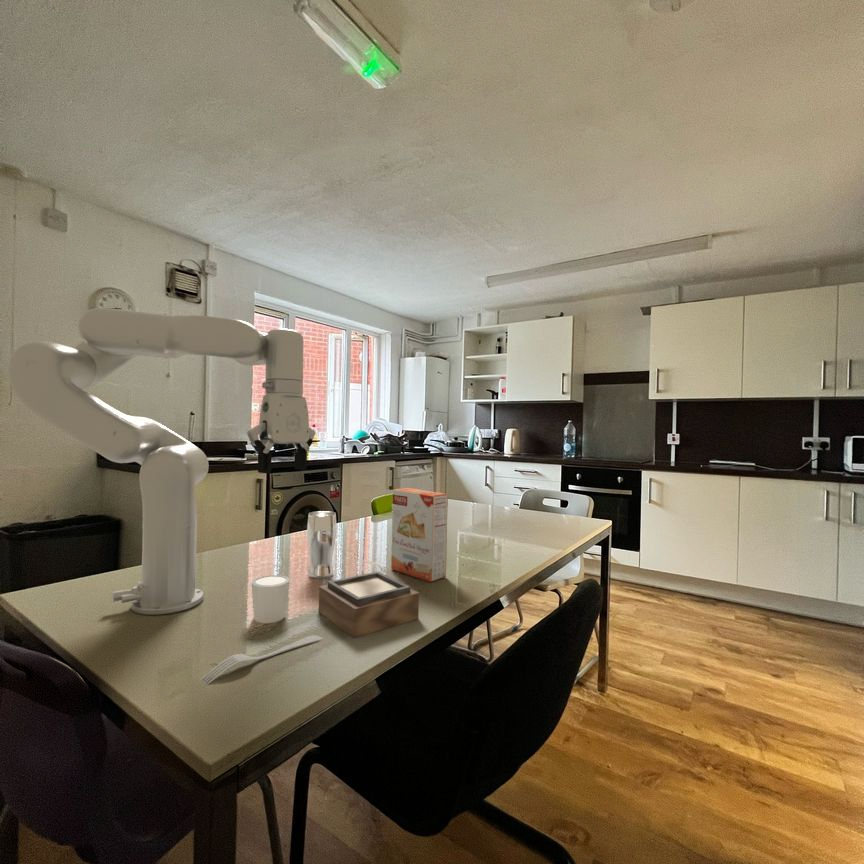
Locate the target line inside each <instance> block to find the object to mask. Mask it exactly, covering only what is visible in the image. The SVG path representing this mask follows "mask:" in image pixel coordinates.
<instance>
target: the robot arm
mask: <svg viewBox="0 0 864 864" xmlns="http://www.w3.org/2000/svg"><path fill="white" fill-rule="evenodd" d="M77 328H78V332H79V335H80V337H81V339H82V341H81V342H80V343H78V344H77V345H75V346H73V347H72V346H68V345H66V344H65V345H64V344H61V343H58V342H54V341H46V340H34V341H30V342H25V343H23V344H21V345H19V346H18V347H16V348H15V350H14V351H13V352H12V354H11V355H10V357H9V360H8V366H7V374H8V379H9V380H8V381H9V384H10V387H11V388H12V391H13V393H14V394H15V395H16V398H17V399H18V400H19V401H20V402H21V403H22V404H23V406H25V407H26V408H27V410H29V411H31V412H32V413H33V414H35V415H36V416H37V417H38V418H40V419H42V420H44V421H45V422H46V423H48V424H50V425H51V426H53V427H55V428H57V429H58V430H60V431H62V432H64V433H65V435H68V436H70V437H71V438H72V439H74V440H76V441H77V442H79V443H81V444H82V445H84V446H86V447H87V448H89V449H91V450H92V451H94V452H95V453H97V454H99V455H100V456H102V457H104V459H106V460H109V461H111V462H113V463H118V464H129V463H133V462H134V463H137V464H139V465H140V466H141V467H140V469H139V474H138V475H139V479H138V480H139V488H140V495H141V502H142V503H141V504H142V505H141V506H142V526H141V527H142V535H141V536H142V541H141V543H142V544H141V549H142V550H141V580H139V581H137V585H135V586H134V585H133V586H132V587H131V588H130V589H129V588H128V589H119V590H118V589H117V590H114V591H113V590H112V595H111V596H112V602H113V603H114V602H119V601H121V603H122V604H125V603H129V602H131V610H132V611H133V612H135V613H137V614H140V615H151V616H154V615H156V616H157V615H167V614H173V613H178V612H182V611H186V610H189V609H191V608H193V607H195V606H197V605H199V604H200V603H201V602H203V600H204V596H205V595H204V591H202V589H200V588H196V583H197V582H196V577H197V573H196V572H197V571H196V570H197V569H196V568H197V535H198V533H197V530H198V523H197V520H198V513H197V512H198V510H197V508H198V507H197V506H198V505H197V498H196V497H197V496H196V486H197V485H198V484H199V483H201V482H202V481H203V480H204V479H205V478H206V476H207V475H208V473H209V465H210V464H209V460H208V458H207V455H206V454H205V452H204V451H203V450H202V449H201V448H199V447H198V446H196V445H195V444H193V443H192V442H190V441H188V440H187V439H185V438H184V437H182V436H181V435H179V434H178V433H176V432H174V431H172V430H171V429H169V428H167V426H165V425H163V424H161V423H160V422H157V420H154V419H151V418H149V417H145V416H138V415H129V414H125V413H124V412H121V411H120V410H118V409H116V408H114V407H112V406H111V405H109V404H107V403H106V402H104V401H103V400H101V399H100V398H98V397H97V396H95V395H93V394H91V393H90V392H87V391H86V390H85V389H88V388H91V387H92V386H94V385H96V384H98V383H99V382H101V381H102V380H104V379H105V378H107V377H108V376H110V375H111V374H113V373H114V372H116V371H118V370H119V369H120V368H121V367H123V366H125V365H126V364H128V363H129V362H130V361H132V360H133V359H134V358H136V357H138V356H142V357H143V356H145V357H153V358H162V359H177V358H180V357H182V356H188V355H189V356H191V355H193V356H209V357H216V358H217V357H218V358H219V357H220V358H226V359H233V360H234V361H235V362H237V363H239V364H241V365H243V366H249V367H250V366H252V367H253V366H263V365H265V381H264V382H262V383H261V387H262V388H263V389H264V390H265V391H264V392H265V393H264V395H263V397H262V398H261V399H262V401H261V404H260V411H259V421H258V424H257V425H256V426H254V427H253V428H251V429H249V430H248V431H247V436H248V439H249V441H250V445H251V446H252V448H253V449H254V452H255V453H257V472H258V473H261V474H271V472H272V453H270V450H271V449H272V448H273V446H274V445H275V444H280V445H284V444H286V445H287V444H288V445H289V444H292V445H294V447H295V449H296V450H295V451H294V453H293V454H294V457H293V459H294V460H293V461H294V462H293V464H294V465H293V467H294V468H293V469H294V470H303V471H307V468H308V467H307V466H308V452H309V451H310V450H311V449H310V447H311V446H312V444H313V443H314V441H313V440H314V438H315V435H316V431H315V430H314V429H312V428H311V427H310V421H309V419H310V417H309V410H308V404H307V399H306V397H305V396H304V337H303V335H302V333H301V332H300V331H298V330H294V329H288V328H274V329H270V330H269V331H268V332H261V331H259V330H258V329H257V328H256V327H255V326H254V325H252V324H251V323H249V322H246V321H243V320H240V319H233V318H224V317H217V316H209V315H190V314H189V315H178V314H177V315H171V314H161V313H160V314H159V313H151V312H143V311H142V312H141V311H136V310H129V309H128V310H127V309H118V308H110V307H95V308H92V309H91V308H90V309H89V310H87V311H85V312H84V313H83V314H82V315H80V318H79V320H78V323H77Z"/></svg>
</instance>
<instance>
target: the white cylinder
mask: <svg viewBox="0 0 864 864" xmlns="http://www.w3.org/2000/svg"><path fill="white" fill-rule="evenodd" d="M289 587H290V578H289V576H284V575H280V574H278V575H277V574H275V575H272V574H271V575H264V576H260V577H257V578H255V579H253V580H252V581H251V595H252V597H251V598H252V610H253V620H254V621H255V622H256V623H260V624H273V623H277V622H279V621H282V620H283V619H285V618H286V612H287V605H288V603H287V602H288V597H289V596H288V595H289Z"/></svg>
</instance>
